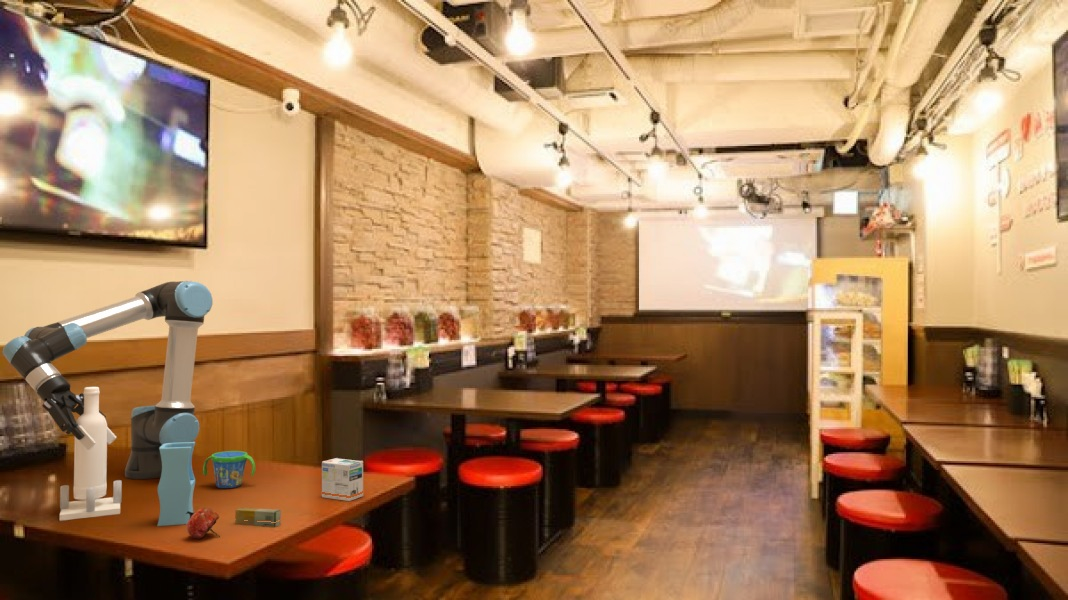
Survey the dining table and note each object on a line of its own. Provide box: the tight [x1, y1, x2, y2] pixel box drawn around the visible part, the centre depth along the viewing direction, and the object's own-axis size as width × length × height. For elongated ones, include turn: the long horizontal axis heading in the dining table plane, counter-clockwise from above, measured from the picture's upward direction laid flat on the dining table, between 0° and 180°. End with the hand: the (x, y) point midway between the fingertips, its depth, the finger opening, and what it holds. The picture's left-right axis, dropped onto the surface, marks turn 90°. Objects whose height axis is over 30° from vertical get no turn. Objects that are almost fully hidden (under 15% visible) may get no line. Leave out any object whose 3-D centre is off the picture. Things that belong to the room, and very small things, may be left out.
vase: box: [157, 441, 196, 527], centre depth 198 cm, size 8×8×20 cm
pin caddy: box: [59, 479, 123, 522], centre depth 207 cm, size 15×15×8 cm
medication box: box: [234, 507, 282, 528], centre depth 196 cm, size 12×3×4 cm, turn 78°
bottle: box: [72, 386, 108, 501], centre depth 206 cm, size 8×8×30 cm
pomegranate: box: [185, 507, 221, 540], centre depth 185 cm, size 7×7×10 cm
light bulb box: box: [321, 457, 364, 502], centre depth 223 cm, size 11×7×11 cm, turn 65°
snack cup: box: [202, 450, 256, 489], centre depth 235 cm, size 16×10×10 cm
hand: (102, 443), depth 206 cm, fingers closed on bottle, 8 cm apart
